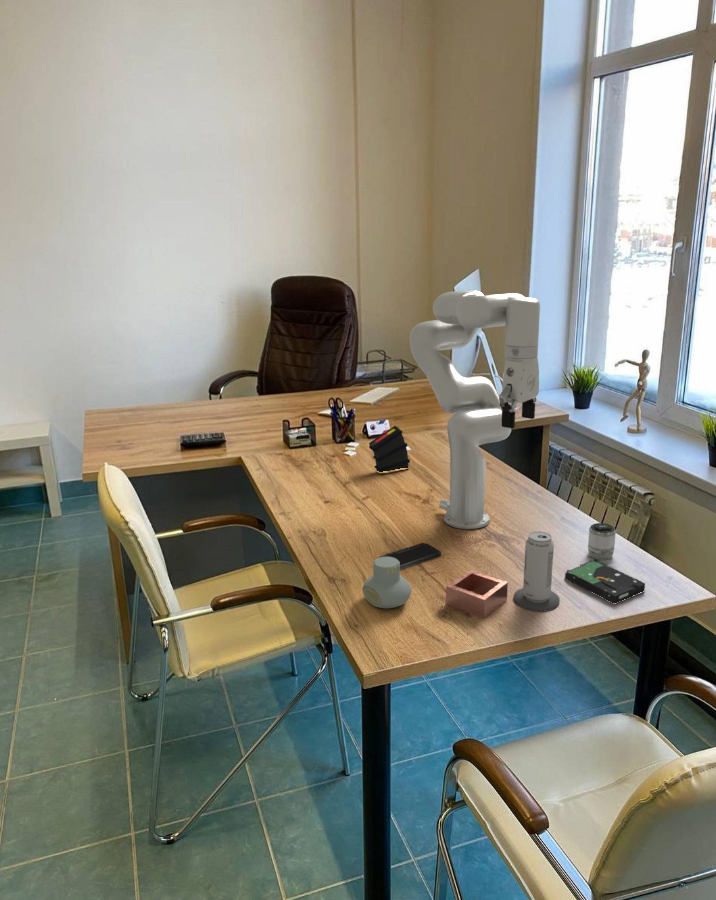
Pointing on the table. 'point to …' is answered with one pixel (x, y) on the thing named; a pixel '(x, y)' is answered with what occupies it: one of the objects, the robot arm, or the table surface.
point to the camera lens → (601, 541)
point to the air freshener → (386, 584)
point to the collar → (473, 602)
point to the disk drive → (604, 581)
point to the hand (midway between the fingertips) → (518, 422)
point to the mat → (544, 606)
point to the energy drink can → (538, 567)
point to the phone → (414, 555)
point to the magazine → (390, 450)
